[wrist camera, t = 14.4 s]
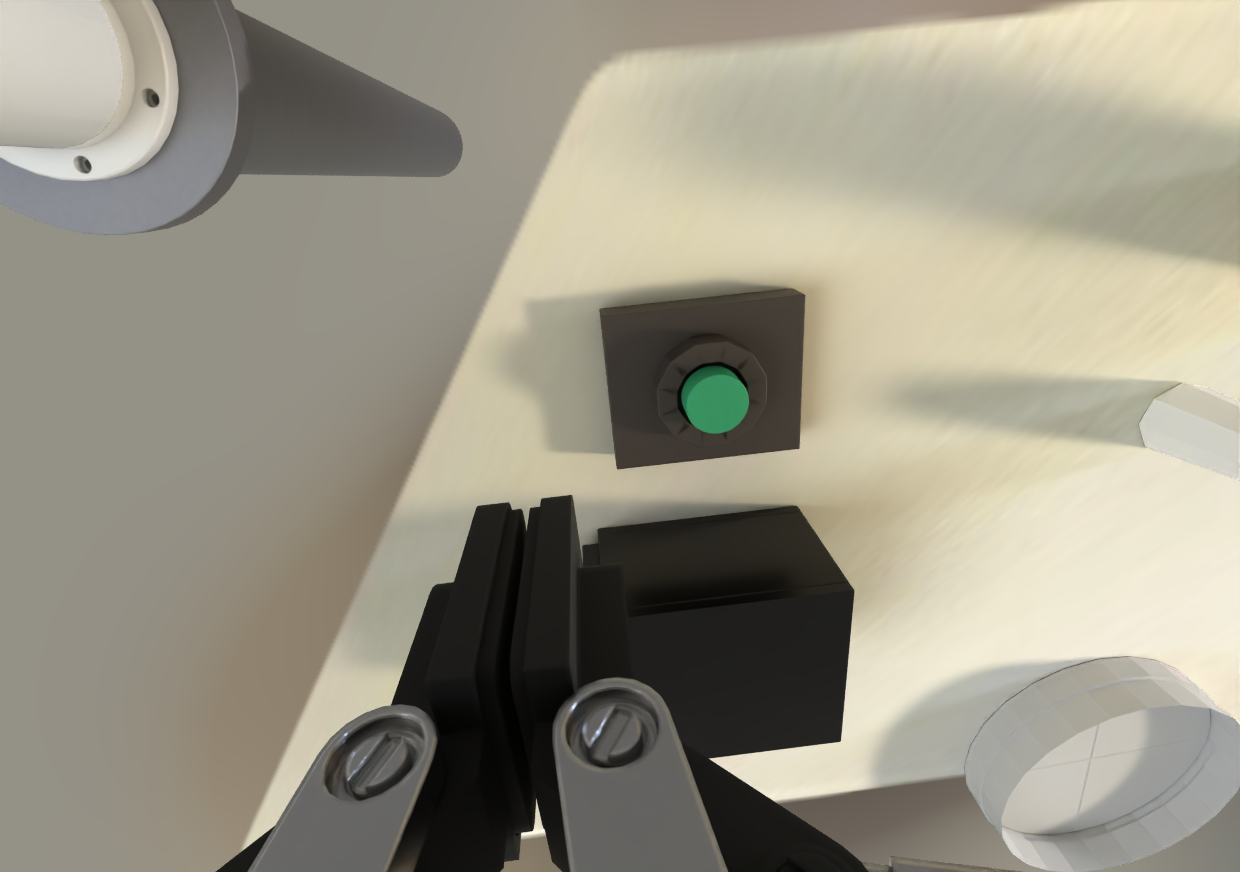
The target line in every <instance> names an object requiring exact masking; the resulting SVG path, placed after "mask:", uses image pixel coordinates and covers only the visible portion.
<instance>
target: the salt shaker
mask: <svg viewBox="0 0 1240 872" xmlns="http://www.w3.org/2000/svg"><path fill="white" fill-rule="evenodd" d="M1139 428H1140V431H1141V435H1142V438H1143V441H1144V444H1145V447H1146V448H1149V449H1151V450H1154V451H1157V452H1160V453H1163V454H1166V455H1169V456H1171V457H1174V458H1177V459H1180V460H1183V461H1186V462H1189V463H1191V464H1194V465H1197V466H1200V467H1203V468H1206V469H1209V470H1211V471H1214V472H1217V473H1220V474H1223V475H1226V476H1229V477H1231V478H1234V479H1237V480H1240V401H1239V400H1237V399H1235V398H1232V397H1230V396H1228V395H1226V394H1223V393H1221V392H1219V391H1217V390H1215V389H1212V388H1210V387H1206V386H1200V385H1195V384H1190V383H1181V384H1180V385H1178V386H1176V387H1174V388H1172V389H1170V390H1169V391H1167V392H1165V393H1163V394H1161V395H1160V396H1158V397H1156V398H1154V399H1153V401H1152V402H1151V404H1150V406H1149V408H1148V409H1147V411H1146V413H1145V414H1144V416H1143V418H1142V420H1141V421H1140V423H1139Z"/></svg>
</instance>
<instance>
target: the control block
mask: <svg viewBox="0 0 1240 872" xmlns="http://www.w3.org/2000/svg"><path fill="white" fill-rule="evenodd" d="M804 313H805V295H804V294H802V293H801V292H799V291H797V290H795V289H792V288H791V289H782V290H772V291H763V292H754V293H744V294H735V295H726V296H716V297H707V298H697V299H688V300H679V301H669V302H660V303H651V304H641V305H632V306H623V307H613V308H604V309H600V319H601V328H602V338H603V347H604V356H605V366H606V375H607V385H608V394H609V403H610V413H611V422H612V432H613V441H614V450H615V459H616V466H617V469H625V468H634V467H643V466H651V465H660V464H669V463H678V462H686V461H695V460H704V459H713V458H721V457H730V456H739V455H748V454H757V453H765V452H774V451H783V450H792V449H799V446H800V419H801V393H802V366H803V339H804ZM707 366H721V367H724V368H727V369H729V370H730V371H732V372H733V373H734V374H735V375H736V376H737V378H738V379H739V380H740V381H741V383H742V384H743V385H744V386H745V388H746V390H747V393H748V397H749V405H748V410H747V413H746V415H745V417H744V418H743V420H742V421H741V422H740V423H739V424H738V425H737V426H736V427H734V428H733V429H731V430H729V431H727V432H723V433H718V434H712V433H706V432H703V431H701V430H699V429H697V428H696V427H695V426H694V425H693V424H692V423H691V421H690V420H689V418H688V416H687V414H686V412H685V410H684V407H683V405H682V399H681V394H682V389H683V386H684V384H685V382H686V381H687V379H688V378H689V377H690V376H691V375H692V374H693V373H694V372H696V371H697V370H699V369H701V368H704V367H707Z"/></svg>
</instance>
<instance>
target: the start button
mask: <svg viewBox="0 0 1240 872" xmlns="http://www.w3.org/2000/svg"><path fill="white" fill-rule="evenodd" d="M681 399H682V405H683V407H684V410H685V412H686V414H687V416H688V418H689V420H690V421H691V423H692V424H693V425H694V426H695V427H696V428H697V429H699V430H701V431H703V432H706V433H712V434H718V433H723V432H727V431H729V430H731V429H733V428H734V427H736V426H737V425H738V424H739V423H740V422H741V421H742V420H743V418H744V417H745V415H746V413H747V410H748V405H749V397H748V393H747V390H746V388H745V386H744V385H743V384H742V383H741V381H740V380H739V379H738V378H737V376H736V375H735V374H734V373H733V372H732V371H730V370H729V369H727V368H724V367H721V366H707V367H704V368H701V369H699V370H697V371H696V372H694V373H693V374H692V375H691V376H690V377H689V378H688V379H687V381H686V382H685V384H684V386H683V389H682V394H681Z"/></svg>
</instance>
